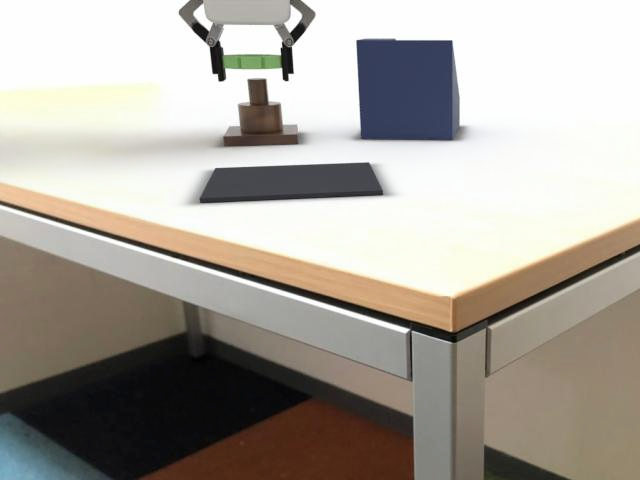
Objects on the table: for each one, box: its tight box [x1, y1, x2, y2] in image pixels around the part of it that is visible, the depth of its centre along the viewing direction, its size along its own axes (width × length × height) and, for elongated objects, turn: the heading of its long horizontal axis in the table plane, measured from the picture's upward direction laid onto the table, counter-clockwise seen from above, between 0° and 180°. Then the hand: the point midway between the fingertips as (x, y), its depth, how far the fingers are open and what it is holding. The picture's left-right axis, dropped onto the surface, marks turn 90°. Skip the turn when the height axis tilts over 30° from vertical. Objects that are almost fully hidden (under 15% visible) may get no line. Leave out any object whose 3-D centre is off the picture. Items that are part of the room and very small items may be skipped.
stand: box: [222, 77, 299, 147], centre depth 96 cm, size 9×9×8 cm
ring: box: [222, 53, 282, 70], centre depth 93 cm, size 7×7×1 cm
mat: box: [199, 161, 384, 203], centre depth 72 cm, size 16×14×1 cm
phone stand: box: [355, 38, 461, 141], centre depth 100 cm, size 12×12×12 cm
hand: (254, 79), depth 94 cm, fingers closed on ring, 7 cm apart
